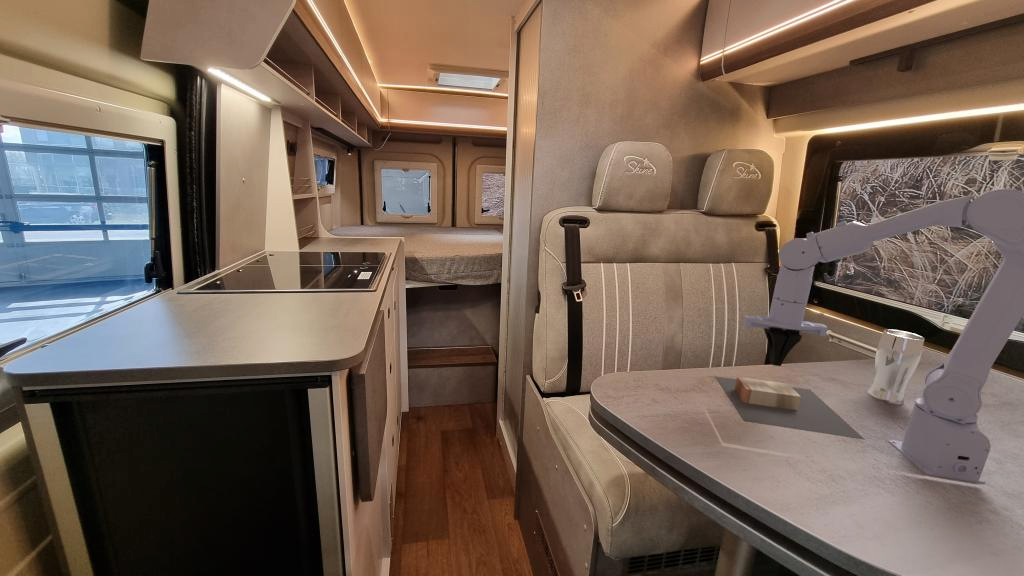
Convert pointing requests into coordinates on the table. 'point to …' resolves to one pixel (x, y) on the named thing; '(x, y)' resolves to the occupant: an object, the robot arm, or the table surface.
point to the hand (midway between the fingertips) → (775, 363)
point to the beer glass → (895, 364)
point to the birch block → (767, 393)
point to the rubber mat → (792, 413)
